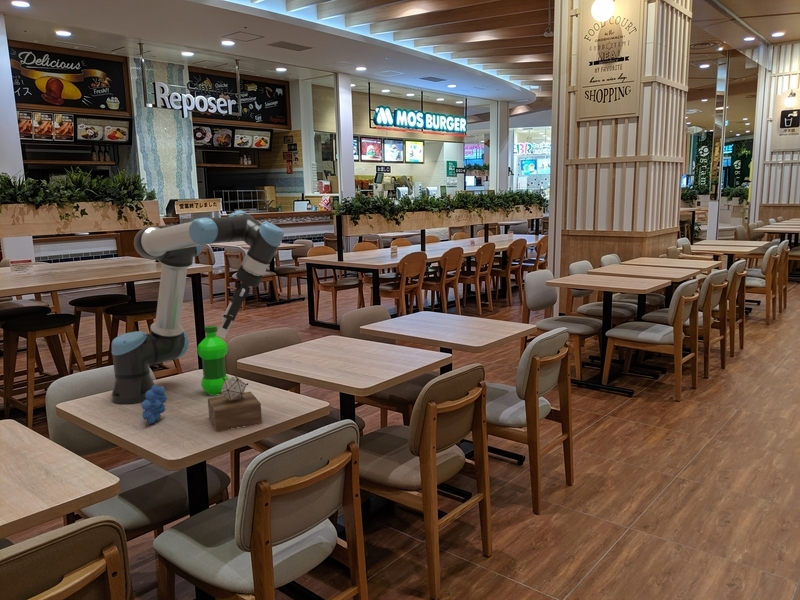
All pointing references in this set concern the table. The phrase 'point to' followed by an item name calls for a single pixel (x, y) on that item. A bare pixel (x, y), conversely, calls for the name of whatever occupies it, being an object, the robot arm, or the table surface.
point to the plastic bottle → (213, 361)
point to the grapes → (154, 404)
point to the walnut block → (234, 412)
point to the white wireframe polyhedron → (233, 388)
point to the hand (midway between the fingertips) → (222, 328)
